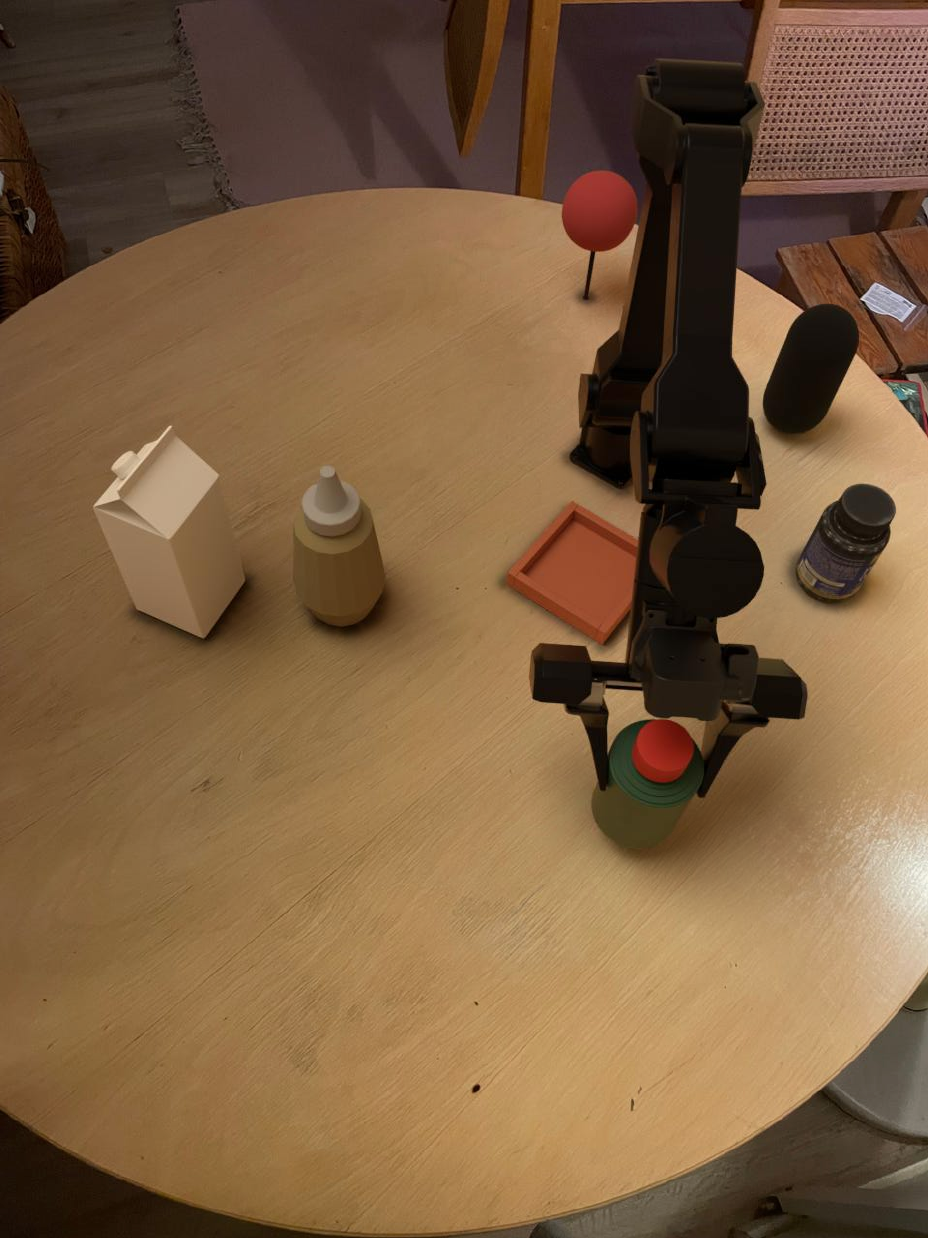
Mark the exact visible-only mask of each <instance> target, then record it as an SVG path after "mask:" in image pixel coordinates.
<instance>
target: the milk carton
mask: <svg viewBox="0 0 928 1238" xmlns="http://www.w3.org/2000/svg"><path fill="white" fill-rule="evenodd" d="M110 470H111V472H113V473H114V474H115V475H116V476H117V477H116V479H114V481H113V482H111V484H110V485H109V487H108V488H107V489H106V490H105V492H104V493H102V495H101V496H100V497H99V498H98V500H97V501H96V502H95V503H94V504H93V506H92V510H93V511H94V514H95V516H96V519H97V521H98V523H99V526H100V528H101V530H102V532H103V535H104V537H105V540H106V542H107V544H108V546H109V550H110V551H111V553H112V556H113V558H114V560H115V563H116V565H117V568H118V570H119V572H120V574H121V576H122V579H123V581H124V584H125V586H126V589H127V591H128V593H129V596H130V598H131V600H132V602H133V605H134V606H135V609H136V610H137V611H139V612H142V613H144V614H146V615H148V616H150V617H153V618H156V619H157V620H160V621H162V622H165V623H167V624H169V625H171V626H174V627H176V628H178V629H180V630H181V631H182V630H183V631H184V632H187V633H190V634H192V635H194V636H196V637H199V638H201V639H205V638H206V637H207V636H208V635H209V633H210V632H211V630H212V629H213V627H214V626H215V625H216V623H217V622H218V620H219V619H220V617H221V616H222V615H223V613H224V612H225V610H226V609H227V608H228V606H229V605H230V603H231V602H232V601H233V599H234V597H235V596H236V595H237V594H238V592H239V591H240V589H241V588H242V586H243V585H244V584H245V582H246V577H245V573H244V569H243V565H242V562H241V557H240V554H239V549H238V545H237V542H236V538H235V534H234V529H233V525H232V521H231V517H230V514H229V510H228V506H227V503H226V502H227V501H226V499H225V494H224V490H223V486H222V483H221V482H222V481H221V479H220V474H219V473H218V472H216V470H214V469H213V468H212V467H211V466H210V465H209V464H208V463H207V462H205V461H204V459H202V457H200V456H199V455H198V454H197V453H195V452H194V451H193V450H192V449H191V448H190V447H189V446H188V445H187V444H185V442H183V441H182V440H181V439H180V438H179V437H178V436H177V435H176V433H175V429H174V426H173V425H169V426H167V428H166V429H165V430H164V432H163V433H162V434H161V435H160V437H158V439H157V440H154V441H151V442H148V443H146V444H144V446H143V447H142V448H141V449H140V450H139V451H138V452H137V453H135V451H133V450H129V451H126V452H125V453H123V454H121V456H120V457H119V458H117V459H116V460H115V462H114V463H113V464H112V466H111V469H110Z"/></svg>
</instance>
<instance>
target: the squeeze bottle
mask: <svg viewBox="0 0 928 1238" xmlns="http://www.w3.org/2000/svg"><path fill="white" fill-rule="evenodd" d="M317 478H318V479H317V482H316V483H313V484H312V485H310V487H308V489H307V490H306V491H305V492H304V493H303V496H302V500H301V505H300V506H299V507H298V508H297V510H296V512H295V515H294V518H293V522H292V552H293V553H292V558H293V560H292V561H293V565H292V566H293V567H292V570H293V574H292V575H293V577H292V579H293V583H294V588H295V592H296V595H297V596H298V597H299V599H300V601H302V602H303V604H304V605H305V606H306V607H307V609H309V610H310V611H311V613H312V614H313V615H314V616H315V617H316V618H317V619H318V620H320V621H321V622H324V623H325V624H327V625H328V626H335V627H347V626H351V625H356V624H358V623H359V622H360V621H362V620H364V619H366V618H367V616H368V615H369V614H370V613H371V611H372V610H373V608H374V606H375V605H376V603H377V602H378V600H379V598H380V596H381V595H382V593H383V591H384V587H385V583H386V582H385V581H386V577H387V575H386V571H385V567H384V562H383V558H382V554H381V549H380V545H379V541H378V535H377V530H376V527H375V522H374V519H373V514H372V511H371V508H370V507H369V506H368V505H367V504H366V503H365V501H364V500H363V499H362V498H360V495H359V494H360V493H359V492H358V491H357V489H355V488H354V486H353V485H352V484H350V483H347V482H345V481H344V480H340V478H339V475H338V474H337V471H336V469H335V467H334V466H331V465H324V466H321V468H320V470H319V474H318V477H317Z"/></svg>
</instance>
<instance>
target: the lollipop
mask: <svg viewBox="0 0 928 1238" xmlns="http://www.w3.org/2000/svg"><path fill="white" fill-rule="evenodd" d="M638 211H639V210H638V199H637V196H636V192H635V190H634V188H633V187H632V185H631V184H630V183H629V181H628V180H627V179H625V178H624V177H623V176H621V175H620V174H618V173H616V172H612V171H608V170H593V171H590V172H587V173H585V174H583V175H581V176H579V177H578V178H577V179H576V180H575V181H574V182H573V183H572V185H570V187H569V189H568V190H567V192H566V194H565V196H564V199H563V203H562V206H561V221H562V226H563V229H564V232H565V233H566V235H567V236H568V238H569V239H570V241H571V242H572V243H574V244H575V245H576V246H578V247H579V248H581V249H583V250H586V251H588V252H589V251H590V253H589V258H588V259H589V260H588V268H587V273H586V280H585V286H584V292H583V296H582V299H583V300H584V301H585V300H586V301H587V300H589V299H590V297H589V295H590V289H591V288H590V287H591V281H592V276H593V270H594V265H595V257H596V253H600V252H601V253H602V252H607V251H611V250H613V249H615V248H618V247H619V246H620V245H621V244H623V243H624V242H625V241H626V239H627V238H628V237H629V236H630V235H631V232H633V229H634V226H635V224H636V221H637V217H638Z"/></svg>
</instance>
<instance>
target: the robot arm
mask: <svg viewBox="0 0 928 1238" xmlns="http://www.w3.org/2000/svg"><path fill="white" fill-rule="evenodd" d="M631 94H632V96H631V102H630V103H631V104H630V114H629V115H630V116H629V117H630V119H629V123H630V124H629V125H630V132H631V135H632V141H633V147H634V150H635V151H636V152H637V158H638V165H639V167H640V170H641V173H642V175H643V178H644V179H645V181H646V183H645V184H646V185H645V189H644V196H643V200H642V205H641V211H640V216H639V221H638V227H637V232H636V236H635V237H636V238H635V242H634V247H633V253H632V258H631V263H630V269H629V274H628V279H627V284H626V290H625V295H624V299H623V306H622V311H621V315H620V322H619V326H618V329H617V330H616V331H615V332H614V333H613V334H612V335H611V336H610V337H609V338H608V339H607V340H605V341H604V342H603V344H601V345H600V346H599V347H598V348H597V350H596V353H595V358H594V362H593V368H592V372H591V373H580V376H579V385H578V391H577V396H578V397H577V398H578V399H577V400H578V425H579V426H578V428H579V429H581V430H580V435H579V440H578V441H579V442H578V444H577V445H576V446H575V447H574V448H573V449H572V450H571V451H570V453H569V456H568V459H569V460H570V461H571V462H573V463H574V464H576V465H578V466H579V467H581V468H583V469H584V470H587V471H588V472H589V473H592V474H594V475H595V476H597V477H599V478H600V479H602V480H604V481H606V482H607V483H609V484H611V485H612V486H614V487H616V488H617V489H624V488H625V487H626V486H627V485H628V484H629V482H630V481H631V480H632V484H633V492H634V500H635V501H636V502H637V504H640V505H644V506H643V507H642V511H641V512H640V517H639V518H640V519H639V528H638V539H637V540H638V546H637V555H636V564H635V574H634V583H633V592H632V601H631V609H630V610H629V620H628V621H629V622H628V630H627V639H626V646H625V647H626V648H625V658H624V662H621V661H620V662H619V661H618V662H617V661H604V660H592V659H591V656H590V654H589V650H588V648H587V645H578V644H577V645H575V644H562V643H561V644H560V643H548V642H547V643H545V642H539V643H538V644H537V645H536V646H535V647H534V648H533V649H532V650H531V653H530V658H529V659H530V660H529V661H530V662H529V673H528V679H529V686H530V691H531V693H530V694H531V699H532V700H533V701H536V702H539V703H543V704H545V703H546V704H559V705H563V708H564V711H565V713H566V714H568V715H571V716H578V717H580V720H581V723H582V725H583V727H584V729H585V732H586V735H587V739H588V743H589V748H590V753H591V757H592V762H593V766H594V771H595V776H596V780H597V781H598V785H599V789H600V791H603V792H605V791H606V785H607V778H608V753H609V751H608V747H609V746H608V724H609V715H610V711H609V708H608V706H607V702H606V699H605V697H604V695H606V690H620V691H621V690H622V691H623V690H624V691H633V692H634V691H636V692H642V695H643V706H644V709H645V711H646V712H647V713H648V714H649V715H650V716H652V717H654V718H656V719H667V720H669V719H670V718H687V719H697V721H699V722H705V723H704V724H705V725H704V731H703V735H702V741H701V747H700V751H701V754H702V757H703V761H704V776H703V780H702V783H701V785H700V787H699V789H698V791H697V792H696V796H697V797H698V798H699V799H705V798H706V797H707V795H708V793H709V791H710V789H711V787H712V785H713V783H714V782H715V780H716V778H717V776H718V775H719V773H720V771H721V769H722V767H723V766H724V763H725V762H726V760H727V758H728V757H729V755H730V753H731V752H732V750H733V749H734V747H735V746H736V745H737V744H738V742H739V741H740V739H741V738H742V737H743V736H745V735H746V734H748V733H749V732H751V731H753V730H754V729H756V728H761V729H762V728H766V727H768V725H769V724H770V722H771V720H770V719H782V720H795V721H796V720H797V721H798V720H802V719H804V718H805V717H806V710H807V705H808V697H809V692H808V685H807V683H806V682H805V680H803V678H802V677H801V676H800V675H799V674H798V673H797V672H796V671H795V670H794V669H793V668H792V667H791V666H790V665H789V664H788V663H787V662H786V661H785V659H783V658H769V657H760V656H759V654H758V651H757V648H756V647H757V646H756V645H754V644H743V643H720V640H719V636H718V635H719V634H718V631H717V628H718V627H717V626H718V619H720V618H722V619H723V618H726V617H730V616H732V615H734V614H737V613H738V612H741V611H742V610H743V609H744V608H746V607H747V606H748V605H749V604H750V603H751V602H752V601H753V600H754V598H755V597H757V596H756V595H757V594H758V593H759V591H760V589H761V587H762V583H763V579H764V577H765V564H764V561H763V556H762V551H761V550H760V547H759V546H758V544H757V542H756V541H755V540H754V538H753V537H751V535H750V534H749V533H748V532H746V531H745V530H743V529H742V528H740V527H738V526H737V521H738V512H739V510H757V511H759V510H760V509H761V504H762V499H761V497H762V496H763V493H764V492H765V489H766V487H767V478H766V472H765V465H764V460H763V459H764V458H763V453H762V447H761V441H760V436H759V434H758V433H757V432H756V428H755V427H756V425H755V422H754V419H753V417H751V416H750V387H749V384H748V383H747V380H746V379H745V377H744V375H743V373H742V371H741V370H740V368H739V366H738V365H737V363H736V361H735V359H734V357H733V337H734V336H733V335H734V317H735V303H736V302H735V301H736V287H737V286H736V285H737V271H738V270H737V269H738V251H739V240H740V239H739V236H740V219H741V206H742V205H741V204H742V191H743V189H742V188H744V186H745V184H746V183H747V180H748V176H749V173H750V171H751V170H750V169H751V166H752V165H751V164H752V158H753V154H754V150H755V146H756V142H757V138H758V134H759V130H760V126H761V122H762V119H763V113H764V109H765V106H766V101H765V100H764V98H763V94H762V93H761V91H760V88H759V86H758V83H757V82H756V81H753V80H746V73H745V66H744V65H743V63H742V62H733V61H732V62H731V61H717V60H716V61H714V60H696V59H695V60H694V59H679V58H678V59H677V58H662V57H657V58H655V59H654V61H653V64H652V65H647V66H646V67H645V70H644V72H643V74H637V75H636V76H635V80H634V84H633V89H632V93H631ZM735 475H736V480H737V482H735V481H733V479H734V477H735ZM650 483H651V488H650ZM597 781H596V782H597Z"/></svg>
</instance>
